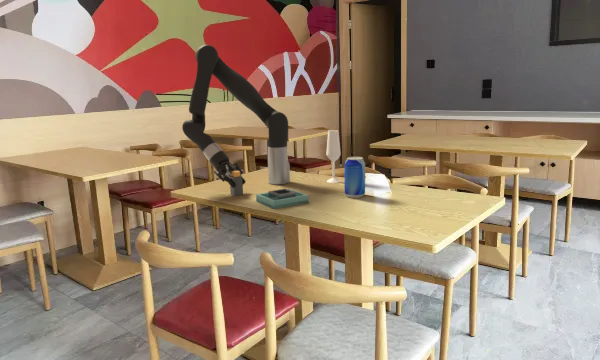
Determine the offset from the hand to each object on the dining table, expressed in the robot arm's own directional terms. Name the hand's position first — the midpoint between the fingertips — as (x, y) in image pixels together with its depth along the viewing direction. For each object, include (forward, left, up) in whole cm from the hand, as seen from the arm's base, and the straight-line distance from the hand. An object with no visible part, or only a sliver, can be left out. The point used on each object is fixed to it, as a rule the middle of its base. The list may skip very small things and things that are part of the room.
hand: (239, 184), depth 208 cm
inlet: (-8, +21, -3) cm, 23 cm away
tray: (-8, +21, -4) cm, 23 cm away
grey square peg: (+1, -2, -4) cm, 5 cm away
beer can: (-37, +31, -4) cm, 49 cm away
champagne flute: (-47, +3, -4) cm, 47 cm away
